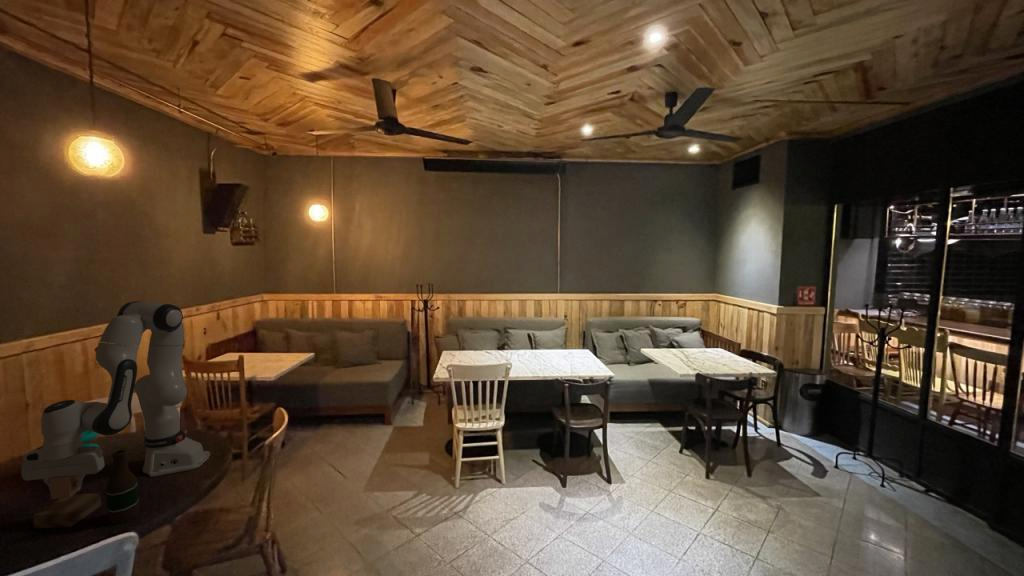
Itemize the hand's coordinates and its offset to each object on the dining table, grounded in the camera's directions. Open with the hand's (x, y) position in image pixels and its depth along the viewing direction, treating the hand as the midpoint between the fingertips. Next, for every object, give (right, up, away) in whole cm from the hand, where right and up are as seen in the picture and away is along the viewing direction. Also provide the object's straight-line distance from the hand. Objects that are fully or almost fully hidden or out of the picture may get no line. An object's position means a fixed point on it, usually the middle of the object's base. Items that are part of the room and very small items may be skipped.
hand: (66, 487), depth 135 cm
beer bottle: (+18, -12, +2) cm, 22 cm away
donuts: (-37, -6, +40) cm, 55 cm away
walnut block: (0, -11, +1) cm, 11 cm away
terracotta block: (0, -2, 0) cm, 2 cm away
